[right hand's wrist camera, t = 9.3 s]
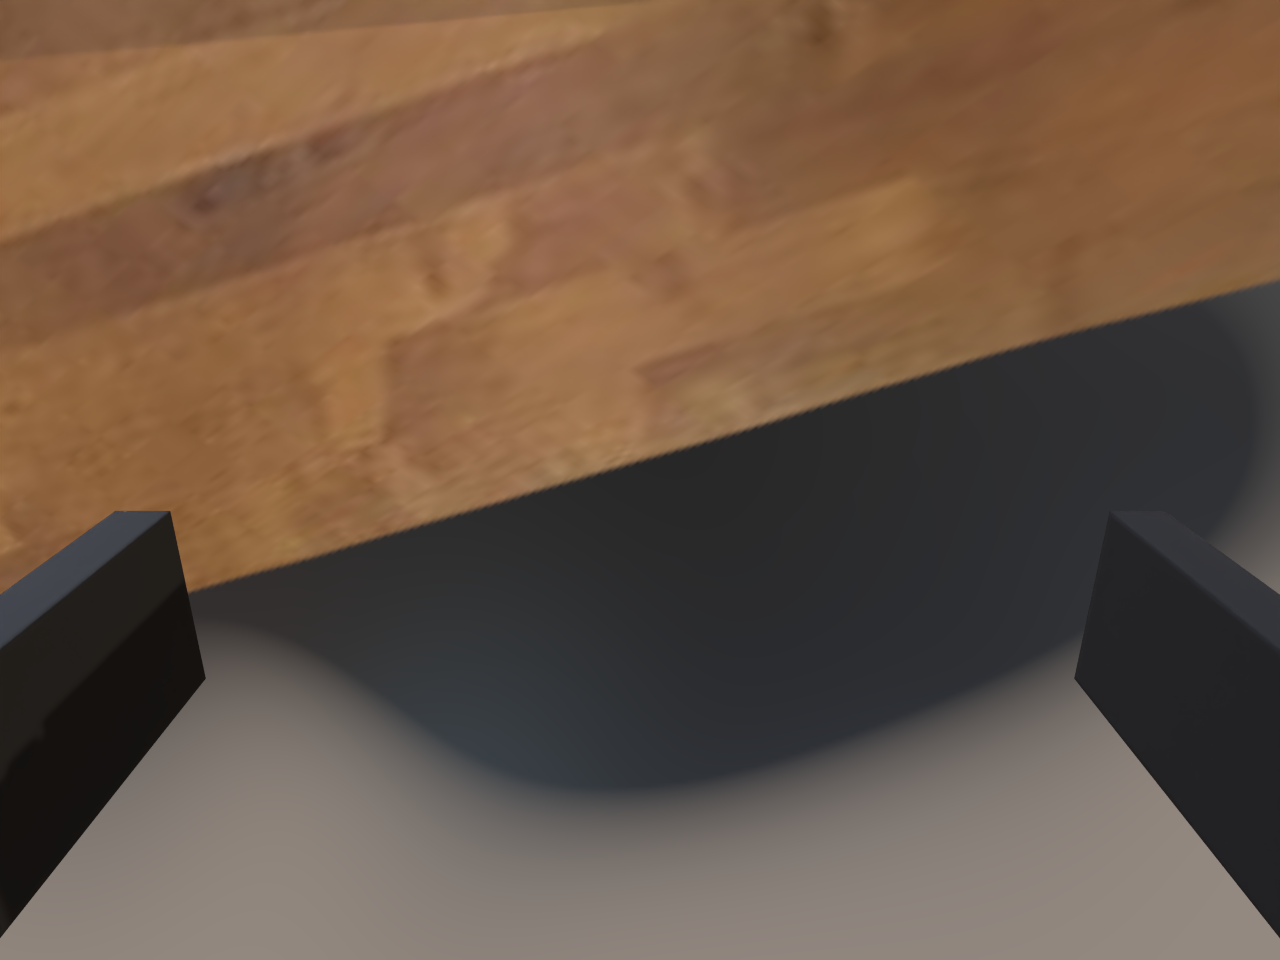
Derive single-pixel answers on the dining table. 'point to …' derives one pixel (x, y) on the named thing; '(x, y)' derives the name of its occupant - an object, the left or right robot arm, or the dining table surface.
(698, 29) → the dining table surface
